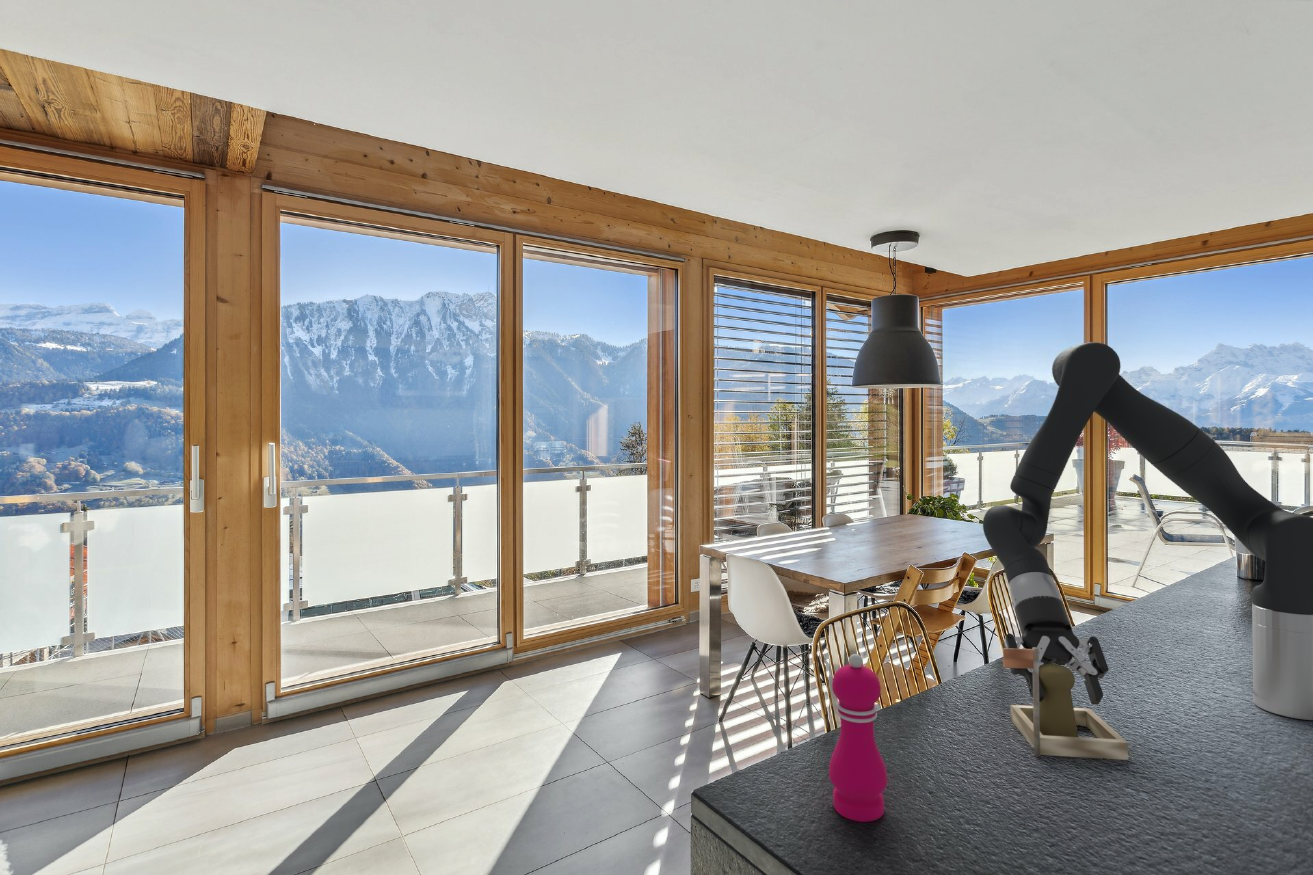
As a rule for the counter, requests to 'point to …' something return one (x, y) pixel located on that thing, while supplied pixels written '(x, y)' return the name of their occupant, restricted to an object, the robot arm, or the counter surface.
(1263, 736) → the counter surface
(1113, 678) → the counter surface
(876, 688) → the pepper mill
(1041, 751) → the wooden square frame
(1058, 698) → the cork
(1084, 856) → the counter surface
